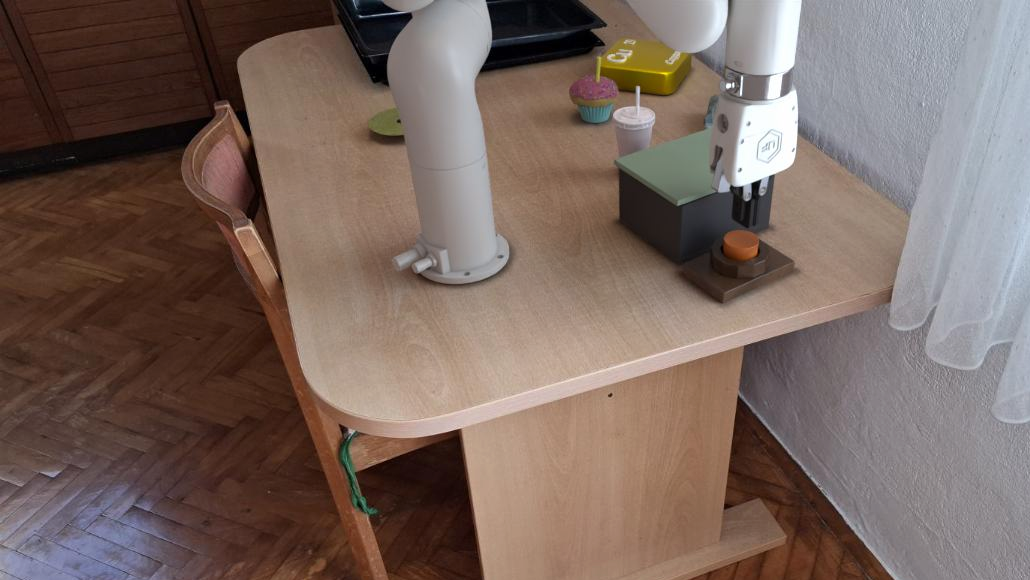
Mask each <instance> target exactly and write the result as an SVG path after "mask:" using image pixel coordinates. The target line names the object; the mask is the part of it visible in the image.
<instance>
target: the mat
mask: <svg viewBox="0 0 1030 580" xmlns="http://www.w3.org/2000/svg"><path fill="white" fill-rule="evenodd" d="M367 124H368V127H369V129H370V130H371V131H372V132H375V133H377V134H380V135H383V136H384V135H385V136H404V133H403V128H402V124H401V120H400V116H399V113H398V110H397V107H393V108H392V107H391V108H388V109H386V110H382V111H380V112H377V113H376V114H374V115H373V116H372V117H370V119H369V120H368V123H367Z"/></svg>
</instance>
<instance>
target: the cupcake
mask: <svg viewBox="0 0 1030 580" xmlns="http://www.w3.org/2000/svg"><path fill="white" fill-rule="evenodd" d="M601 57H602V56H601V52H599V53H598V56H597V57H596V66H595V67H596V68H595V74H588V75H584V76H581V77H580V78H579V79H577V80H575V81H574V82H573V83H572V84H571V86H570V87H569V89H568V95H569V98H570V100H571V102H572V103H573V104H574V105H576V106H577V108H578V110H579V113H580V116H581V119H582V120H583V121H584V122H586V123H590V124H591V123H592V124H600V123H604V122H606V121H608V120H609V118H610V115H611V112H612V109H613V107H614V104H615V103H616V101H617V100H618V99H619V96H620V92H619V90H618V87H617V86H618V85H617V84H616V83H615V82H614V81H613V80H610V79H609V78H607V77H602V76H601V77H600V65H601Z"/></svg>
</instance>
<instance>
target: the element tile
mask: <svg viewBox="0 0 1030 580" xmlns="http://www.w3.org/2000/svg"><path fill="white" fill-rule="evenodd" d="M692 54H693V53H682V52H678V51H675V50H673V49H671V48H669V47H668V46H666V45H665V44H663V43H662V42H661V41H657V40H656V41H655V40H646V39H639V38H638V39H637V38H627V37H623V38H622V37H621V38H620V39H618V40H617V41H616V42H615V43H614V44H613V45H612V46H611V47H610V48H609V49H608V50H607V51H606V52H605V53H604V54H603V55H602V56H600V57H601V65H600V77H601V76H602V77H607V78H609V79H610V80H613V81H614V82H615V83H616V84H617V85H618V86H617V87H618V91H626V92H633V93H636V86H640V94H648V95H656V96H670V95H673V94H674V93H675V92H676V90H677V89H678V88H679V86H680V85H681V83H683V81H684V80H685V78H686V77H687V76H688V74H690V73H689V72H691V69H692V59H693V58H692V57H693V56H692Z"/></svg>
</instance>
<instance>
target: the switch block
mask: <svg viewBox="0 0 1030 580" xmlns="http://www.w3.org/2000/svg"><path fill="white" fill-rule="evenodd" d="M723 241H724V236H723V237H721V238H718V239H716V240H715V242H714V243H713V244H712V246H711V249H710V253H707V254H705V255H702V256H700V257H698V258H695V259H693V260H690V261H688V262H686V263H683V264H682V275H684V277H686V278H688V279H689V280H690V281H691V282H693V283H694V284H696V285H697V286H699V288H701V289H703V290H704V291H705V292H707V293H708V294H709V295H711V296H712V297H713V298H715V299H716V300H717V301H719V302H720V303H721V304H725V303H727V302H730V301H732V300H734V299H736V298H739V297H741V296H743V295H745V294H747V293H750V292H752V291H754V290H756V289H758V288H761V287H762V286H764V285H767V284H769V283H771V282H773V281H776V280H778V279H780V278H782V277H785V276H787V275H790V274H791V273H793V272H794V271H795V264H796V261H795V260H794V259H792V258H790V257H789V256H787V255H785V254H784V253H782V252H781V251H779V250H778V249H776V248H775V247H773V246H771V245H770V244H768V243H767V242H765V241H763V240H762V239H761V238H759V245H758V254H757V256H756V257H755V258H753V259H751V260H743V261H738V260H734V259H730V258H728V257H726V256H725V255H724V254H723Z"/></svg>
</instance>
